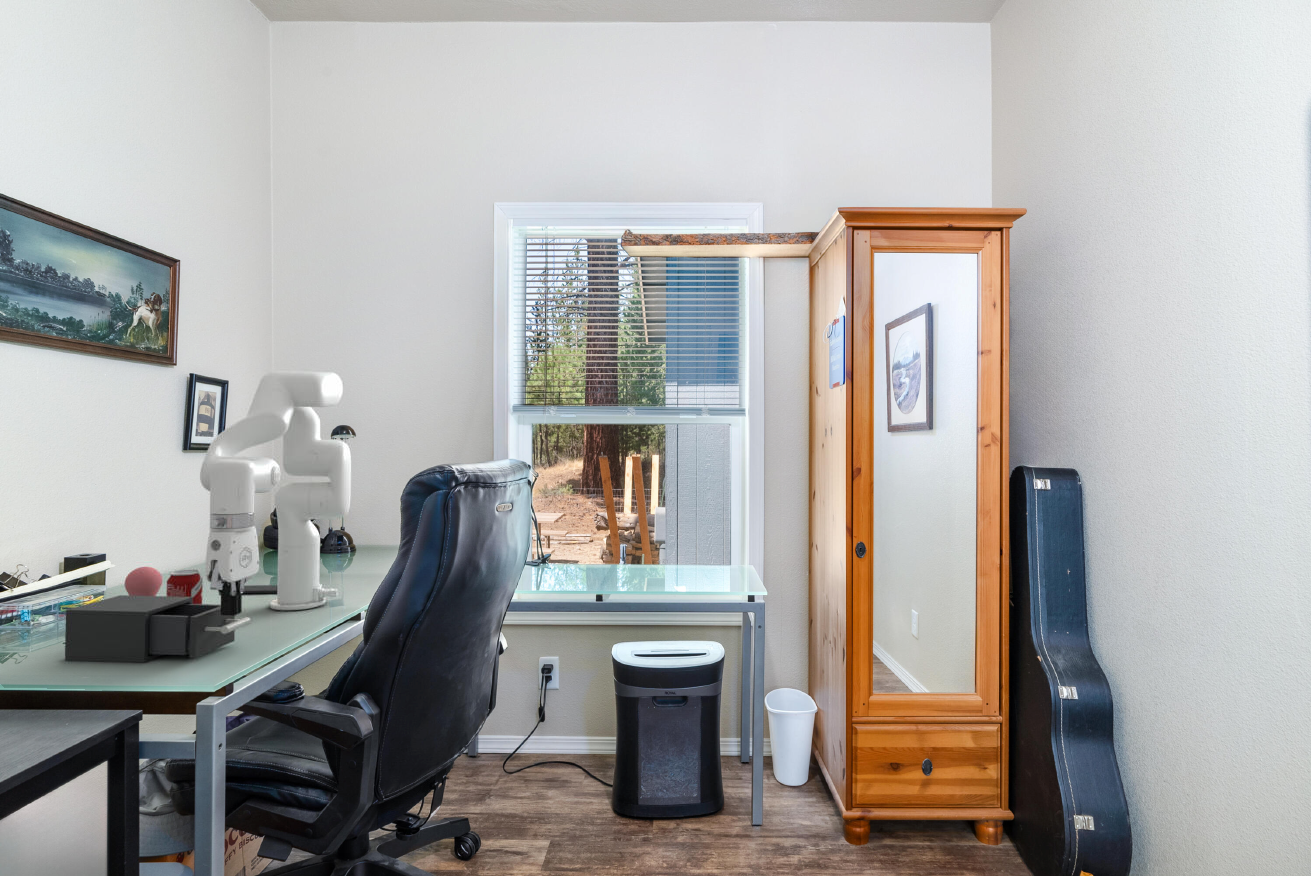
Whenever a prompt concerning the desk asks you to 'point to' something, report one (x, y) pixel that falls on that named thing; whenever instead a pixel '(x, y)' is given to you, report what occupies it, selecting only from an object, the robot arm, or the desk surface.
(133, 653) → the cabinet
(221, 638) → the drawer
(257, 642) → the desk surface
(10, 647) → the desk surface
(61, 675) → the desk surface
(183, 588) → the soda can
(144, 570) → the light bulb
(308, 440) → the robot arm
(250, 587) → the phone
